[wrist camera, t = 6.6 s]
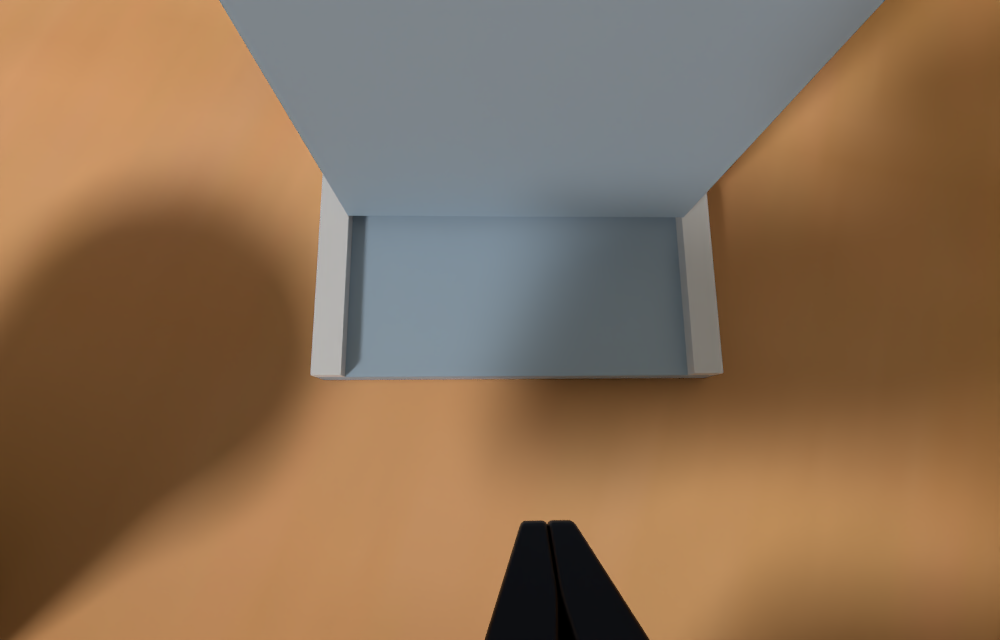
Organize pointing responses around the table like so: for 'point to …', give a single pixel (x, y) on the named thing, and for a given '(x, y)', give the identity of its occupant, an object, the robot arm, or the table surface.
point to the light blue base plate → (514, 297)
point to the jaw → (536, 96)
